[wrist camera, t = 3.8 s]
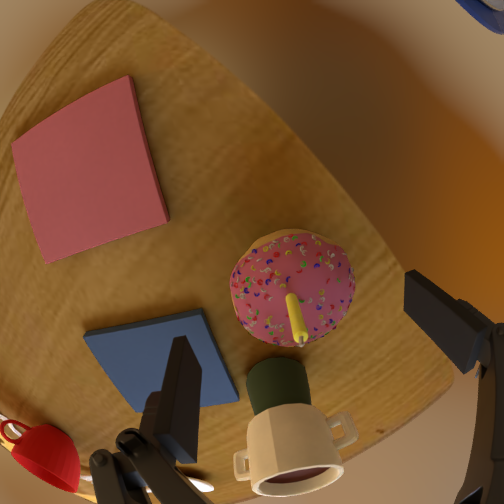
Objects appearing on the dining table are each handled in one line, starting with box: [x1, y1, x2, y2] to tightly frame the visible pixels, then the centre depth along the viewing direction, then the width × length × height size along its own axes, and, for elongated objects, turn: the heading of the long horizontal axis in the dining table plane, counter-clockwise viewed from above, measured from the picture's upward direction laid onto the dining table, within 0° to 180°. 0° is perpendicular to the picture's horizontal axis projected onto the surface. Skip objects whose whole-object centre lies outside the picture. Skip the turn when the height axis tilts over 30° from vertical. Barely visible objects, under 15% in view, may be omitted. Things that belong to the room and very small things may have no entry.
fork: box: [0, 414, 22, 436], centre depth 32 cm, size 3×20×2 cm, turn 36°
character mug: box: [234, 357, 358, 497], centre depth 21 cm, size 11×7×13 cm, turn 120°
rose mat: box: [11, 75, 170, 264], centre depth 18 cm, size 13×12×1 cm
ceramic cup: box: [0, 419, 80, 493], centre depth 26 cm, size 13×17×10 cm
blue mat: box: [83, 308, 239, 412], centre depth 25 cm, size 13×12×1 cm
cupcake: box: [230, 229, 355, 347], centre depth 17 cm, size 9×8×12 cm
